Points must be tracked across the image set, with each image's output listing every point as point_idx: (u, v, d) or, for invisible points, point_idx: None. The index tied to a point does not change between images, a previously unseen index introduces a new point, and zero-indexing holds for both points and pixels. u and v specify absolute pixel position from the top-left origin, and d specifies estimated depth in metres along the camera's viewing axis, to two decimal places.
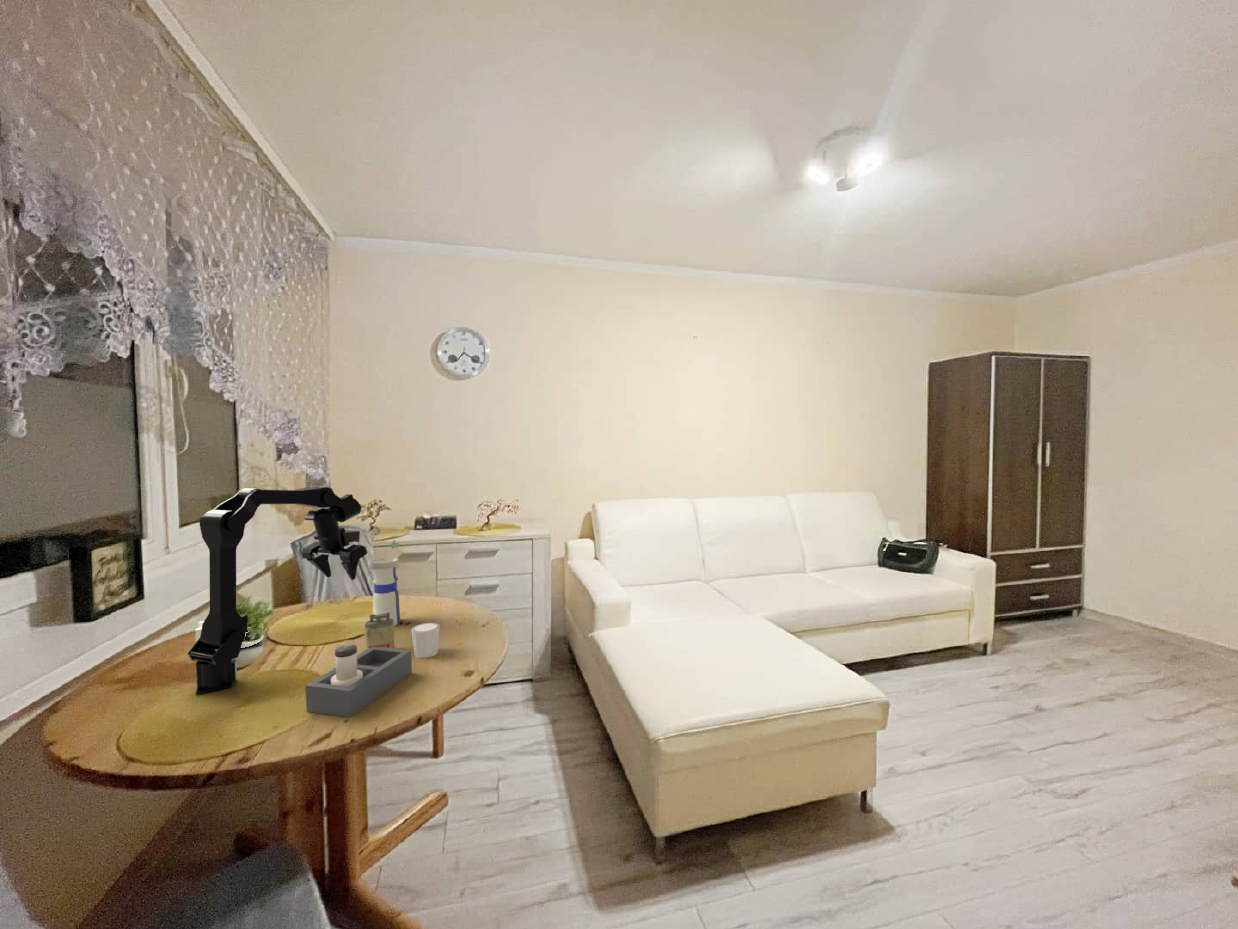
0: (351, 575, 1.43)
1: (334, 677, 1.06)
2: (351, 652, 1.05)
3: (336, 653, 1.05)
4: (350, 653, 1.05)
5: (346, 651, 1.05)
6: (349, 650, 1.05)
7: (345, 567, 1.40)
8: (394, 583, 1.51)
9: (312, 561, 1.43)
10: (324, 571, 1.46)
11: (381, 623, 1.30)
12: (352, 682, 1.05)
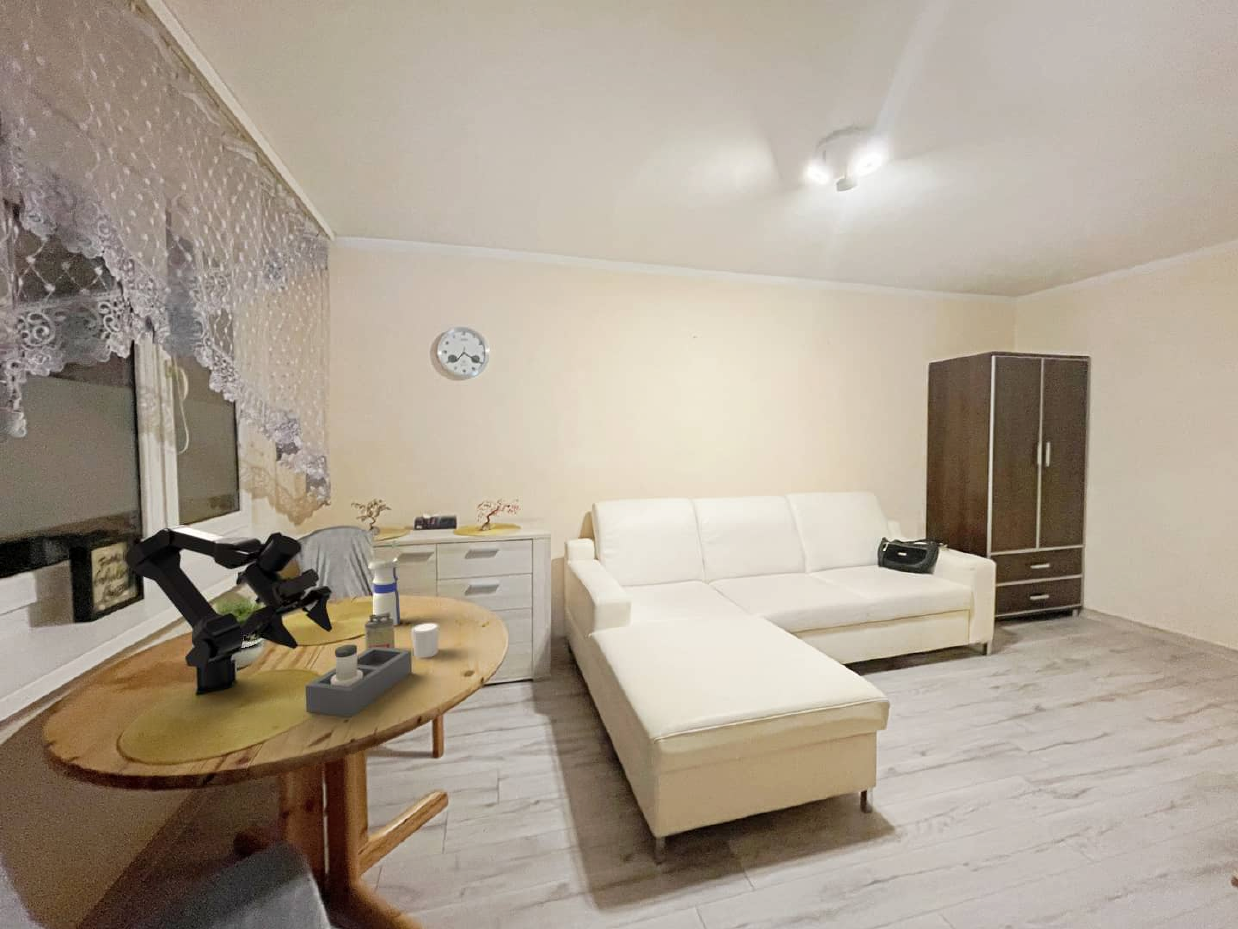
0: (285, 644, 1.03)
1: (334, 677, 1.06)
2: (351, 652, 1.05)
3: (336, 653, 1.05)
4: (350, 653, 1.05)
5: (346, 651, 1.05)
6: (349, 650, 1.05)
7: None
8: (394, 583, 1.51)
9: None
10: (321, 625, 1.13)
11: (381, 623, 1.30)
12: (352, 682, 1.05)
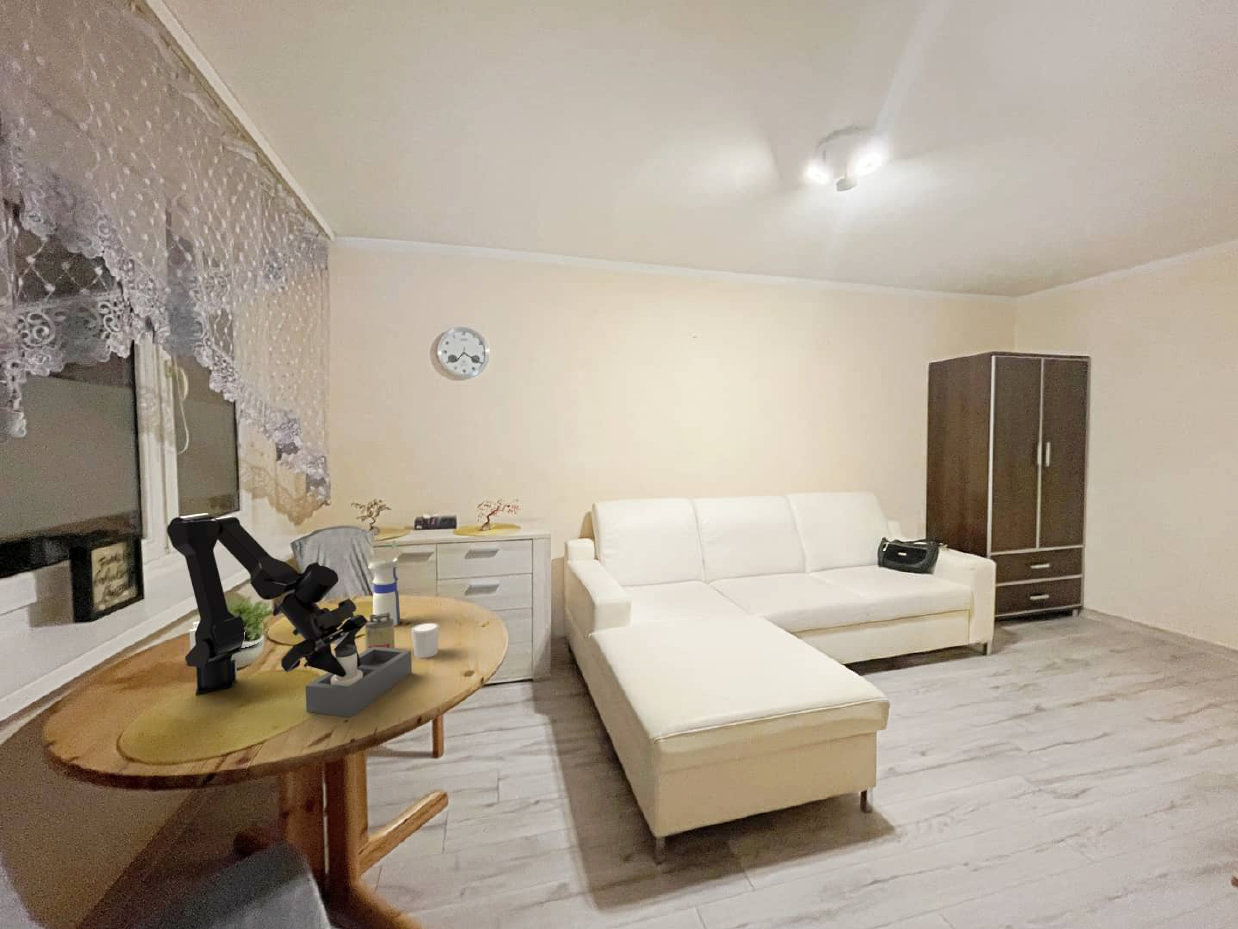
0: (333, 673, 1.04)
1: (334, 677, 1.06)
2: (351, 652, 1.05)
3: (336, 653, 1.05)
4: (351, 653, 1.05)
5: (346, 651, 1.05)
6: (349, 650, 1.05)
7: None
8: (394, 583, 1.51)
9: None
10: None
11: (381, 623, 1.30)
12: (352, 682, 1.05)
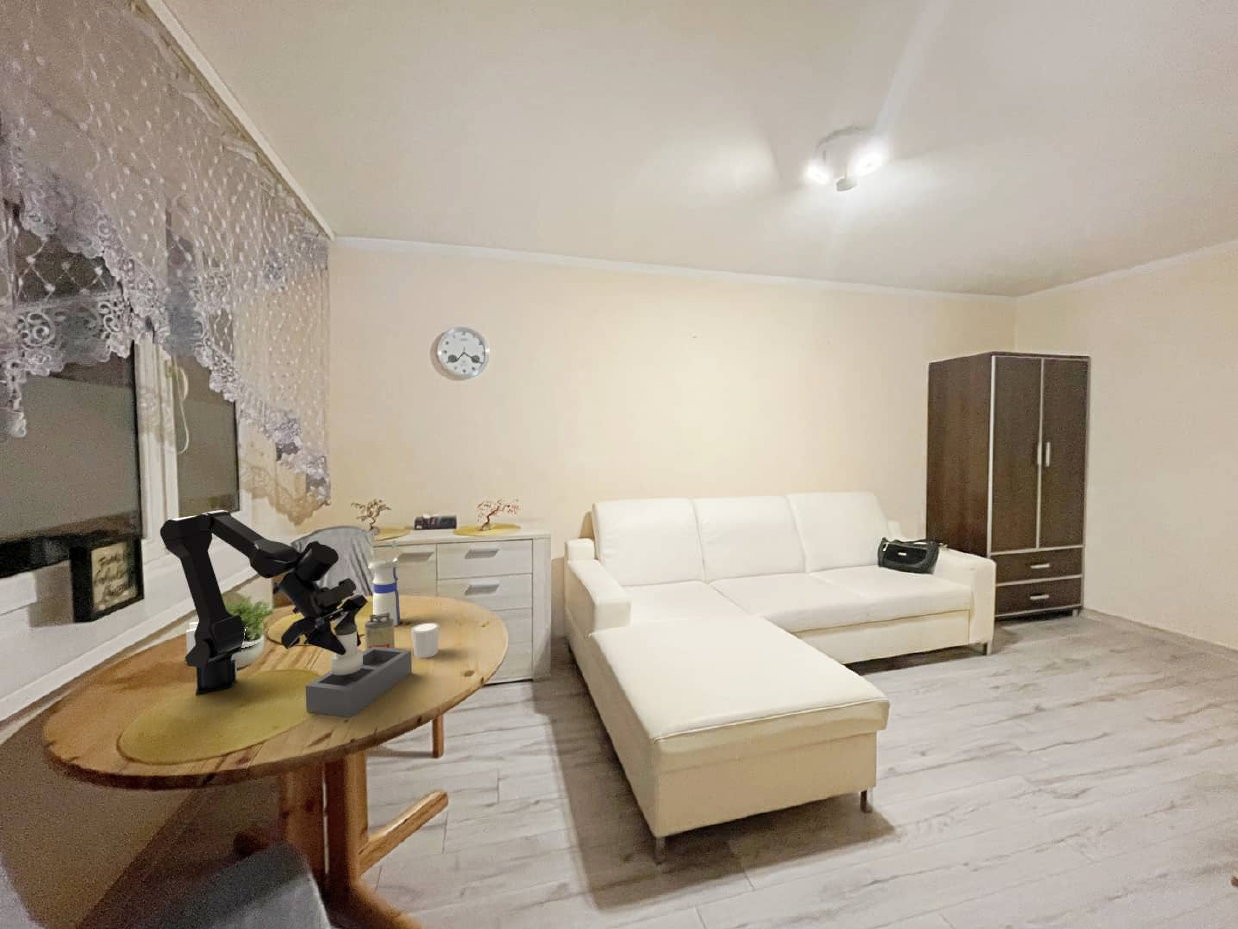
0: (333, 651, 1.04)
1: (334, 655, 1.06)
2: (351, 630, 1.05)
3: (336, 631, 1.05)
4: (350, 631, 1.05)
5: (346, 629, 1.05)
6: (349, 628, 1.05)
7: None
8: (394, 583, 1.51)
9: None
10: None
11: (381, 623, 1.30)
12: (352, 660, 1.05)
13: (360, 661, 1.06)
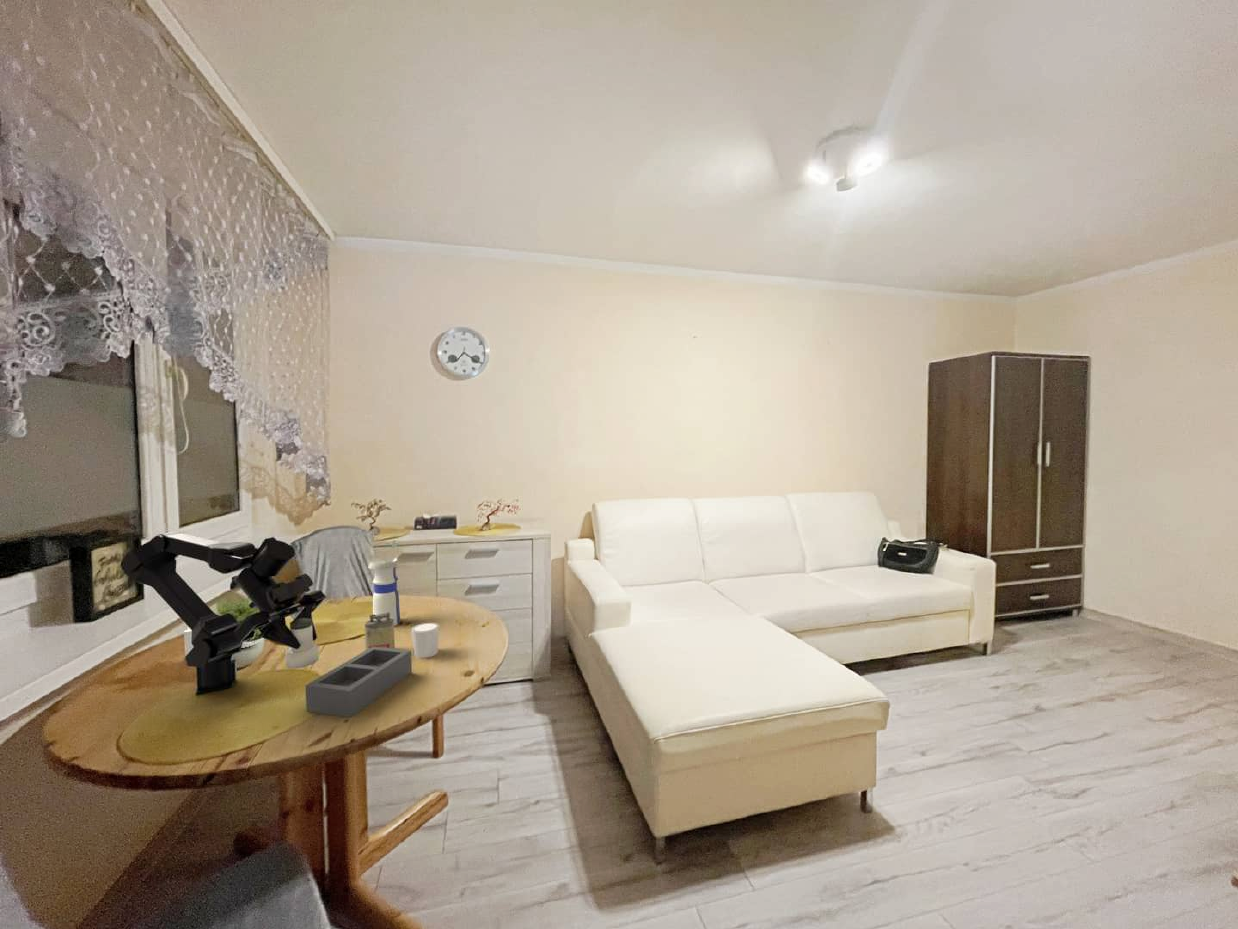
0: (288, 645, 1.06)
1: (289, 649, 1.08)
2: (306, 625, 1.07)
3: (291, 625, 1.07)
4: (305, 625, 1.07)
5: (301, 624, 1.07)
6: (304, 623, 1.07)
7: None
8: (394, 583, 1.51)
9: None
10: None
11: (381, 623, 1.30)
12: (306, 654, 1.07)
13: (315, 655, 1.09)
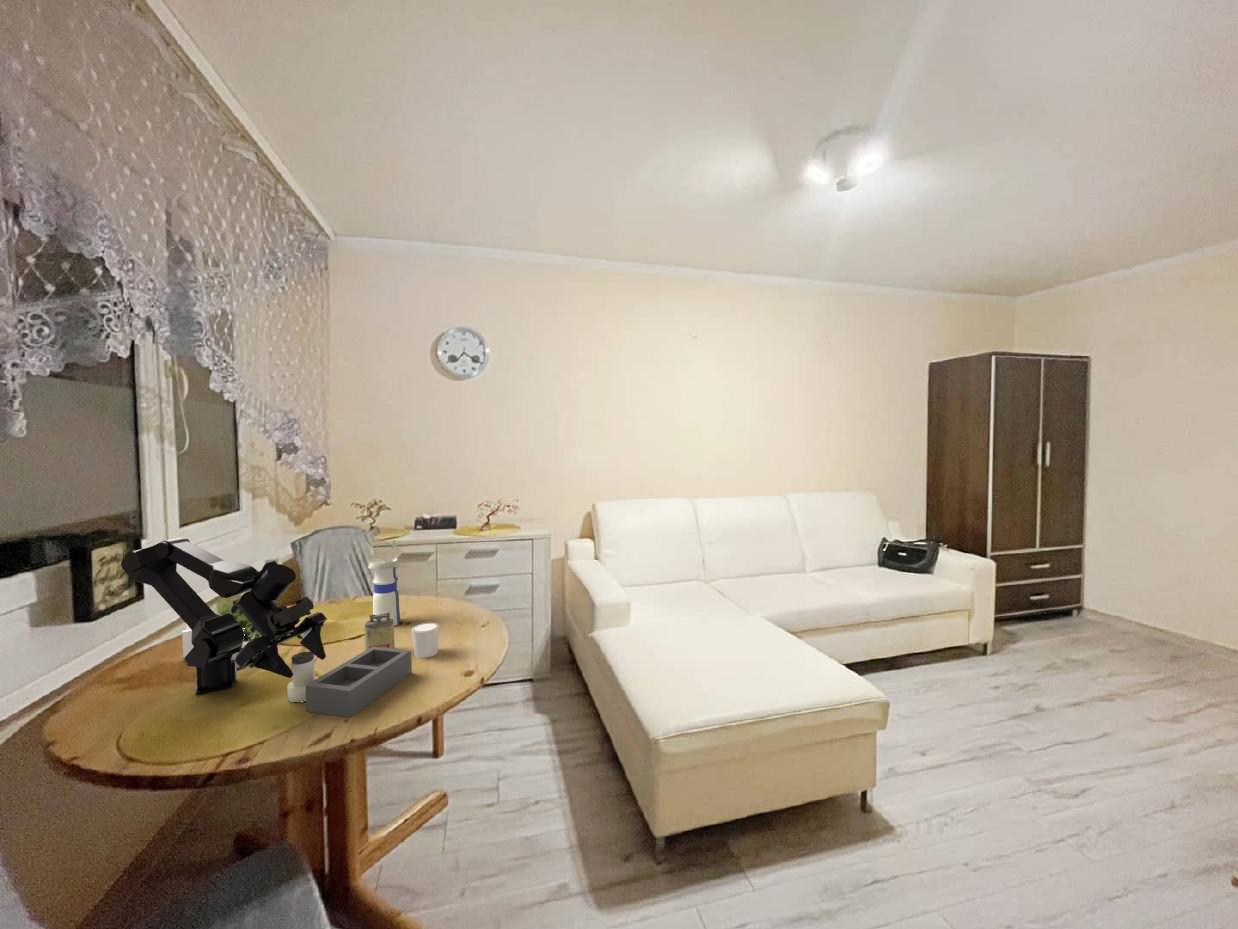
0: (280, 674, 1.04)
1: (291, 684, 1.09)
2: (307, 659, 1.08)
3: (292, 660, 1.07)
4: (307, 660, 1.08)
5: (302, 658, 1.07)
6: (305, 657, 1.08)
7: None
8: (394, 583, 1.51)
9: None
10: (314, 653, 1.13)
11: (381, 623, 1.30)
12: None
13: None
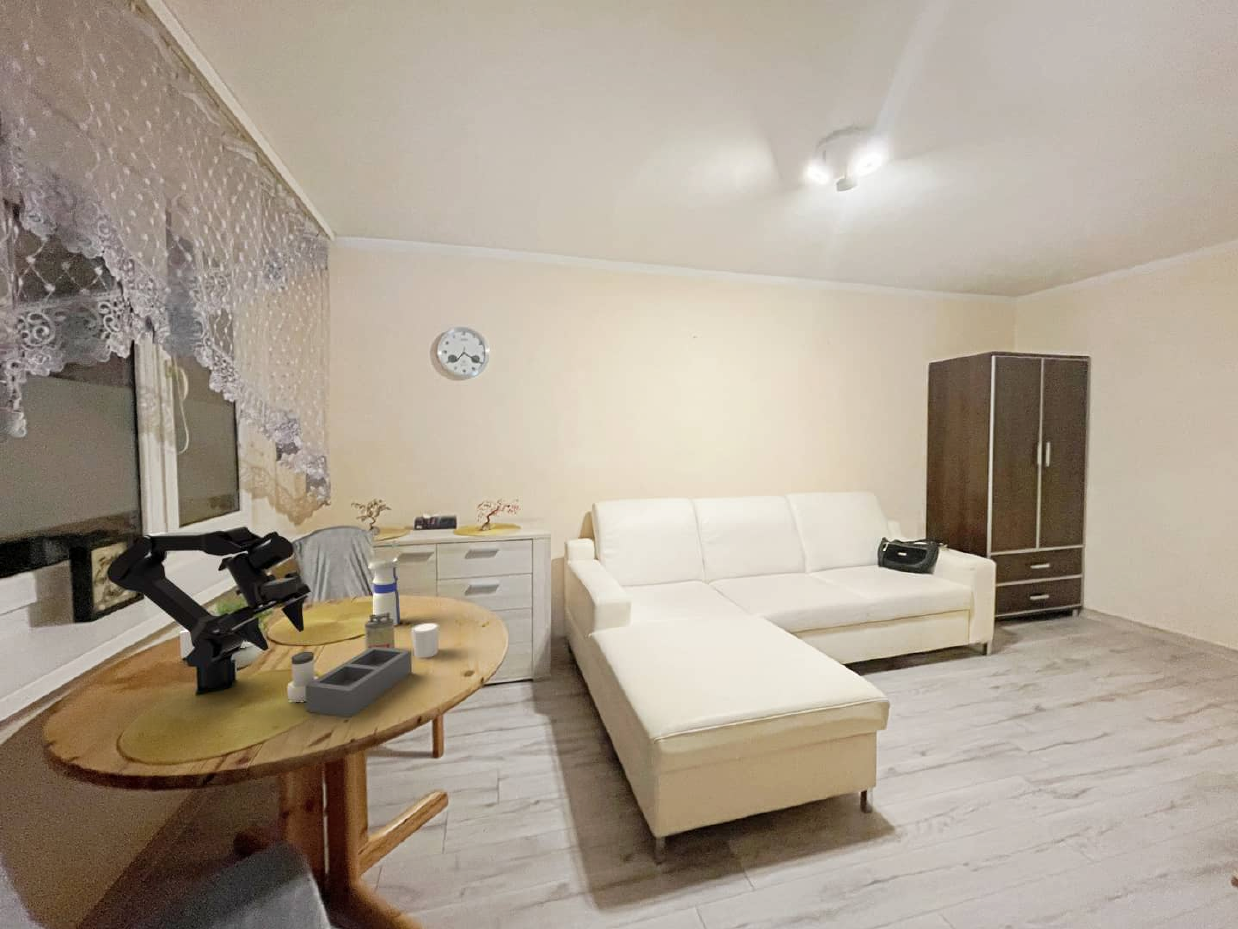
0: (256, 645, 1.07)
1: (291, 684, 1.09)
2: (307, 659, 1.08)
3: (292, 660, 1.07)
4: (307, 660, 1.08)
5: (302, 658, 1.07)
6: (305, 657, 1.08)
7: None
8: (394, 583, 1.51)
9: None
10: (293, 624, 1.17)
11: (381, 623, 1.30)
12: None
13: None
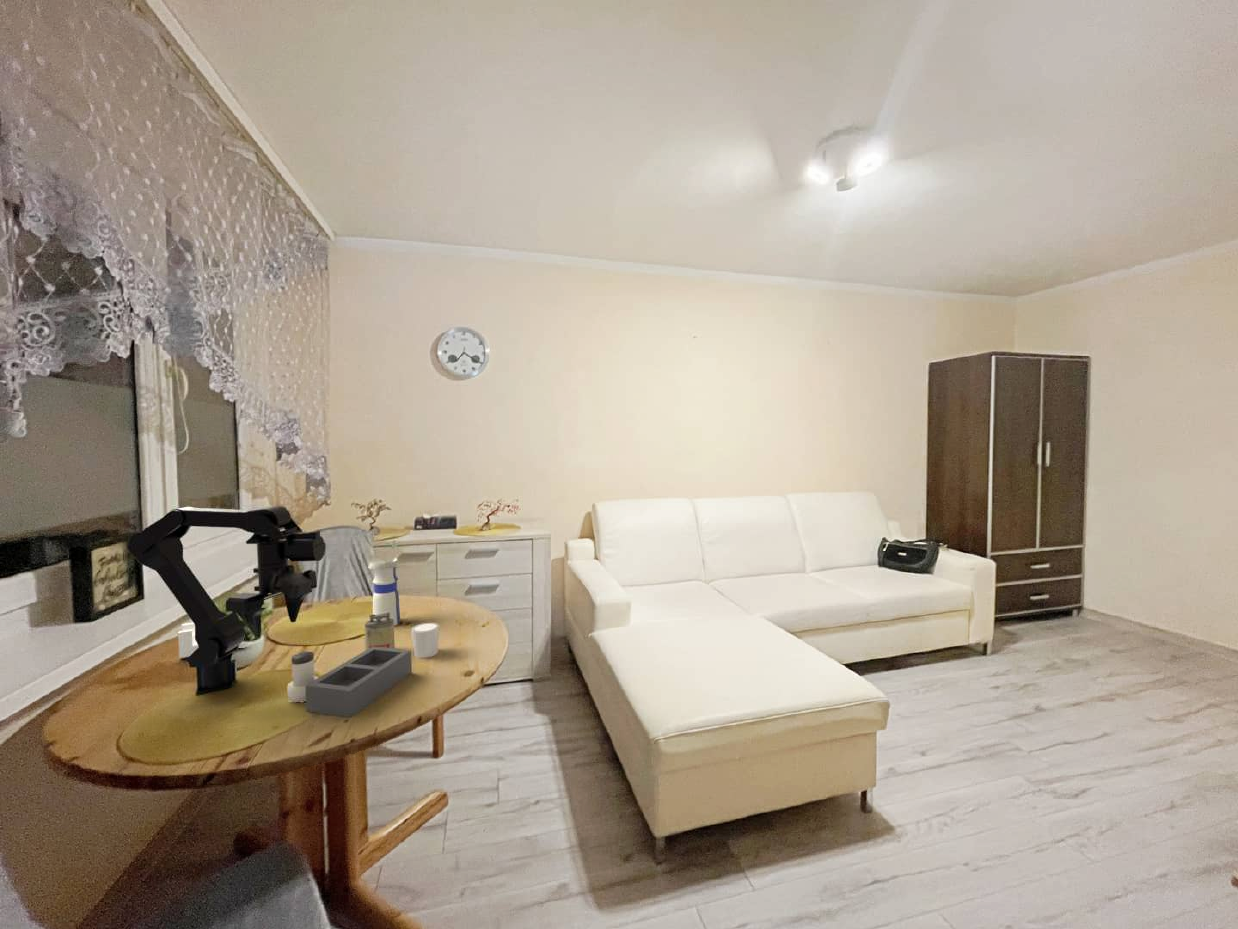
0: (250, 629, 1.10)
1: (291, 684, 1.09)
2: (307, 659, 1.08)
3: (292, 660, 1.07)
4: (307, 660, 1.08)
5: (302, 658, 1.07)
6: (305, 657, 1.08)
7: None
8: (394, 583, 1.51)
9: None
10: (288, 612, 1.19)
11: (381, 623, 1.30)
12: None
13: None
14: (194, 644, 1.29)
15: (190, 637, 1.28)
